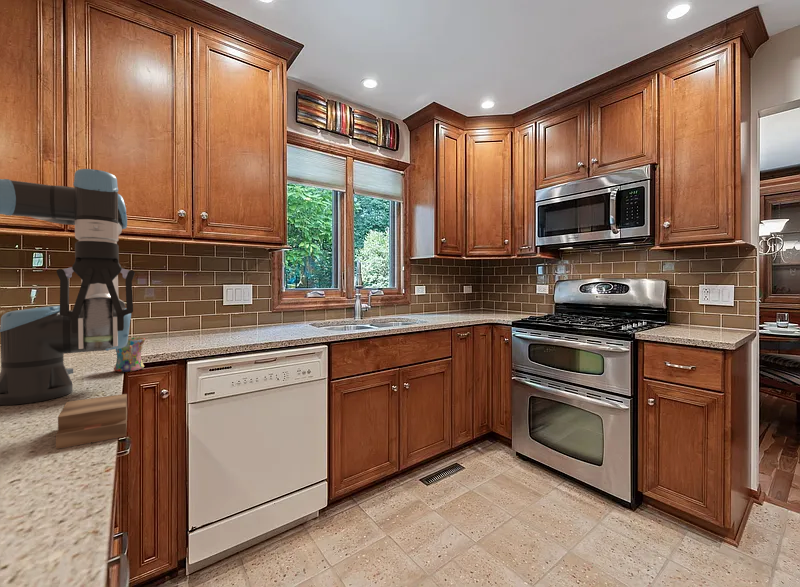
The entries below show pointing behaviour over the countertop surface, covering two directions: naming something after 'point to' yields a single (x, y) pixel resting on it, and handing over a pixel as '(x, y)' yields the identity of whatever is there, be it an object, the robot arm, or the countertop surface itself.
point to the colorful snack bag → (130, 356)
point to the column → (98, 323)
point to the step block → (92, 420)
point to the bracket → (69, 370)
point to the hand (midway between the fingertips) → (98, 346)
